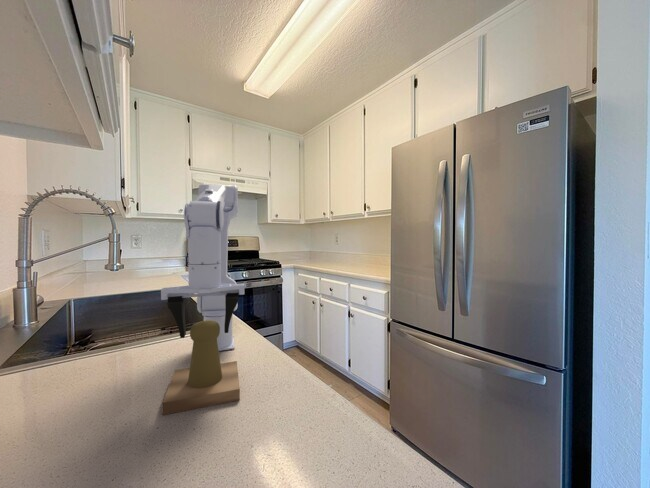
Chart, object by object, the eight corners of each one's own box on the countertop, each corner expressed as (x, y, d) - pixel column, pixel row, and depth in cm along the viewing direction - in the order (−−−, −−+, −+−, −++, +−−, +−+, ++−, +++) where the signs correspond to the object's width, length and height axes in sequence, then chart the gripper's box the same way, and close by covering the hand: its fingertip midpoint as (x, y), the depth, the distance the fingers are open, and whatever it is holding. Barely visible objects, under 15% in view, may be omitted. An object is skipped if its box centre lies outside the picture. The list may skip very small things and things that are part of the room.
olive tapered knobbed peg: (212, 389, 48) (212, 327, 48) (180, 387, 49) (180, 326, 49) (228, 372, 54) (227, 317, 54) (199, 371, 55) (199, 316, 55)
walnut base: (175, 379, 56) (174, 370, 56) (236, 370, 60) (236, 361, 60) (162, 415, 44) (162, 402, 44) (239, 400, 49) (239, 388, 49)
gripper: (156, 266, 46) (157, 346, 46) (245, 264, 51) (245, 335, 51) (165, 263, 53) (165, 333, 53) (243, 261, 58) (243, 325, 58)
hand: (205, 333), depth 53 cm, fingers open, 7 cm apart
